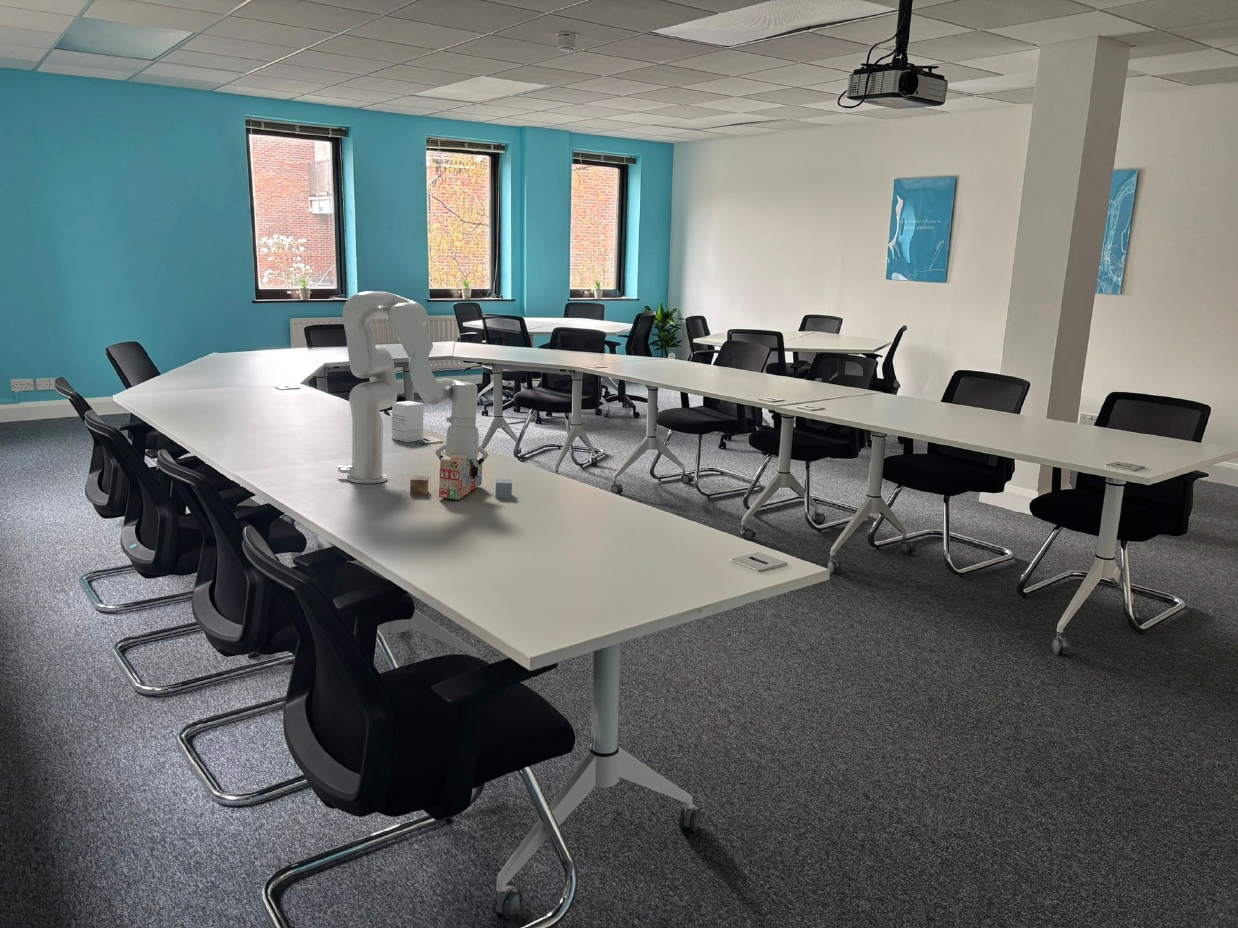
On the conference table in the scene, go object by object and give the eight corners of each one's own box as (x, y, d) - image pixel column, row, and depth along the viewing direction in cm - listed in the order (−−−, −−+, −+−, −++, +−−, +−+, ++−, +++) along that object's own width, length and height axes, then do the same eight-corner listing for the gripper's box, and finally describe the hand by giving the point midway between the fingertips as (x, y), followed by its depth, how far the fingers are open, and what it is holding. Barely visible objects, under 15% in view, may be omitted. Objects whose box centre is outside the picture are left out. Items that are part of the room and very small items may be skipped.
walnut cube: (410, 495, 272) (410, 479, 270) (411, 491, 276) (412, 475, 275) (426, 495, 272) (427, 480, 271) (428, 491, 277) (428, 476, 276)
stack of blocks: (463, 482, 288) (465, 445, 286) (481, 484, 287) (483, 447, 285) (438, 497, 268) (440, 458, 265) (458, 500, 267) (459, 460, 264)
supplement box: (408, 436, 360) (409, 400, 357) (423, 440, 355) (424, 403, 352) (390, 439, 353) (391, 402, 350) (406, 442, 348) (406, 405, 345)
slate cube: (495, 498, 275) (495, 482, 274) (495, 494, 280) (496, 478, 279) (511, 498, 276) (512, 483, 274) (511, 494, 280) (512, 479, 279)
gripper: (433, 422, 267) (431, 479, 271) (491, 426, 270) (488, 482, 273) (435, 418, 275) (433, 473, 278) (492, 421, 277) (489, 476, 281)
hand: (460, 477), depth 276 cm, fingers closed on stack of blocks, 7 cm apart
